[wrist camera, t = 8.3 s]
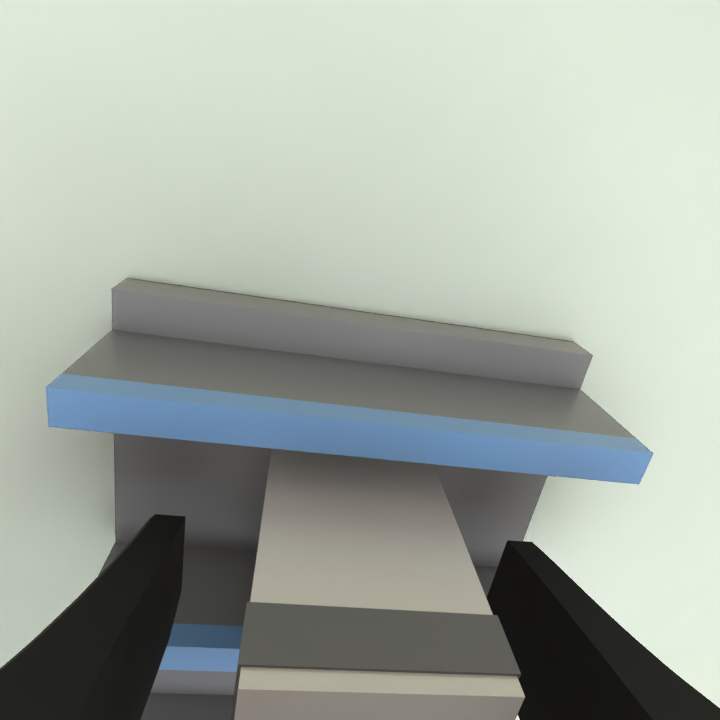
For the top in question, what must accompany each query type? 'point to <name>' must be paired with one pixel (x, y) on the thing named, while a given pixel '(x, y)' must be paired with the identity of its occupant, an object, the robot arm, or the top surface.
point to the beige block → (367, 601)
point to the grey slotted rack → (315, 437)
